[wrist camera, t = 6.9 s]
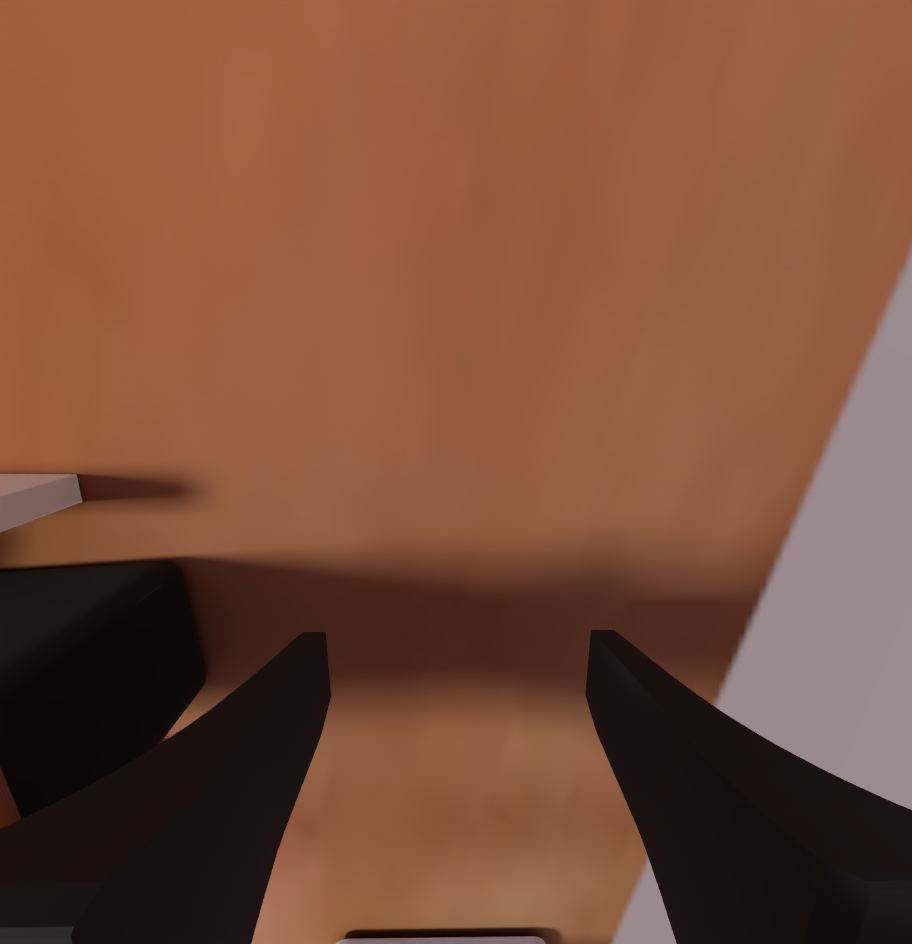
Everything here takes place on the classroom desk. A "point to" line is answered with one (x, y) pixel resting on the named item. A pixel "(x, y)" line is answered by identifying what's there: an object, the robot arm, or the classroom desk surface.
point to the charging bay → (35, 496)
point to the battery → (88, 675)
